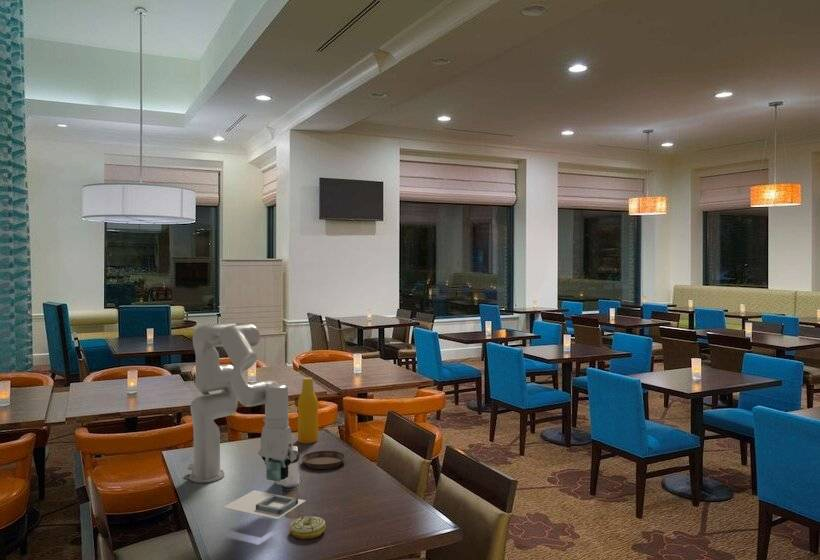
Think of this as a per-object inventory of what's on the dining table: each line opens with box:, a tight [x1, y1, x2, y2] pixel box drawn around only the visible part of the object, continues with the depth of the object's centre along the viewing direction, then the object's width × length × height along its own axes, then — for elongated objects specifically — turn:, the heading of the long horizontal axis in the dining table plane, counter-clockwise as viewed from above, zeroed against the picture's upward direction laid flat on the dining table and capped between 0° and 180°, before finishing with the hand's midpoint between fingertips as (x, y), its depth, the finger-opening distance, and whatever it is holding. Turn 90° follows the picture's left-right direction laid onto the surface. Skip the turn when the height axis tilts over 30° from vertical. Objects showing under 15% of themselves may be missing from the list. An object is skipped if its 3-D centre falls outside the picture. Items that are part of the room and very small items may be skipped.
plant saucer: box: [301, 450, 346, 470], centre depth 243 cm, size 18×18×3 cm
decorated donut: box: [288, 515, 327, 540], centre depth 181 cm, size 10×11×4 cm
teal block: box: [265, 458, 286, 482], centre depth 196 cm, size 5×5×6 cm
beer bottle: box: [297, 377, 319, 444], centre depth 273 cm, size 9×9×29 cm
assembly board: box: [222, 489, 307, 520], centre depth 198 cm, size 22×16×3 cm
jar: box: [275, 449, 300, 487], centre depth 218 cm, size 9×8×12 cm
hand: (277, 476), depth 196 cm, fingers closed on teal block, 5 cm apart
